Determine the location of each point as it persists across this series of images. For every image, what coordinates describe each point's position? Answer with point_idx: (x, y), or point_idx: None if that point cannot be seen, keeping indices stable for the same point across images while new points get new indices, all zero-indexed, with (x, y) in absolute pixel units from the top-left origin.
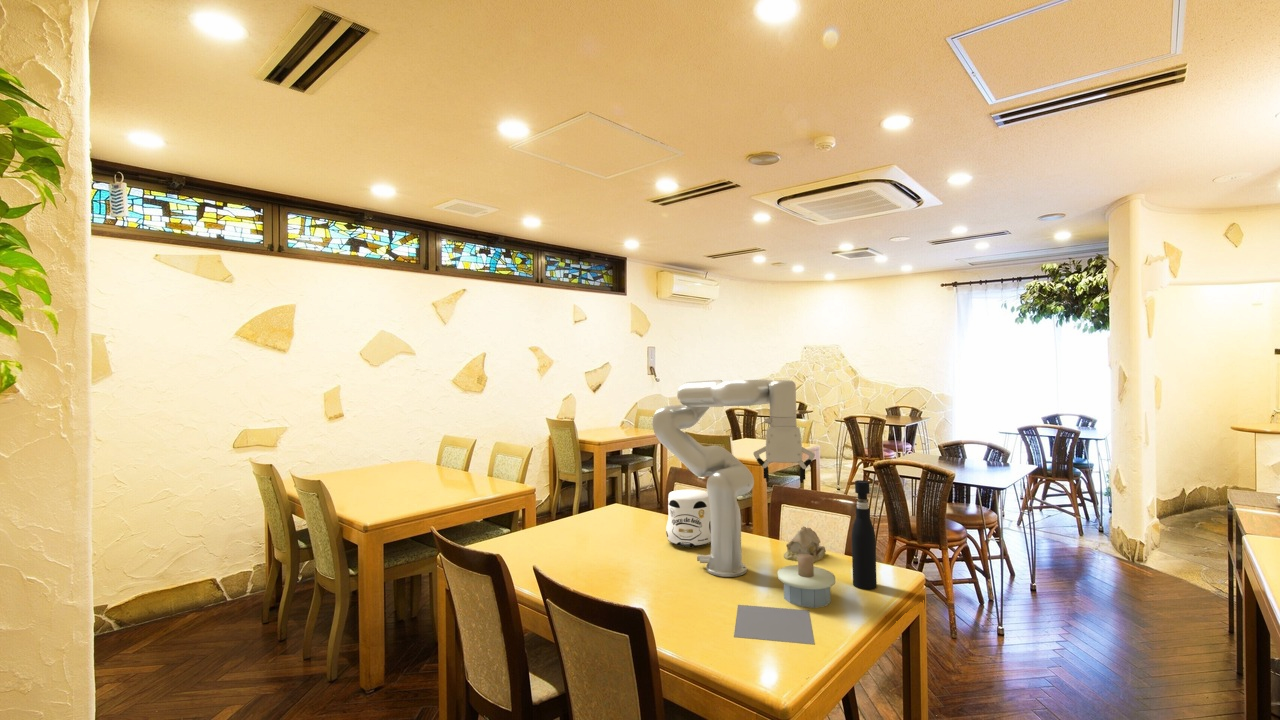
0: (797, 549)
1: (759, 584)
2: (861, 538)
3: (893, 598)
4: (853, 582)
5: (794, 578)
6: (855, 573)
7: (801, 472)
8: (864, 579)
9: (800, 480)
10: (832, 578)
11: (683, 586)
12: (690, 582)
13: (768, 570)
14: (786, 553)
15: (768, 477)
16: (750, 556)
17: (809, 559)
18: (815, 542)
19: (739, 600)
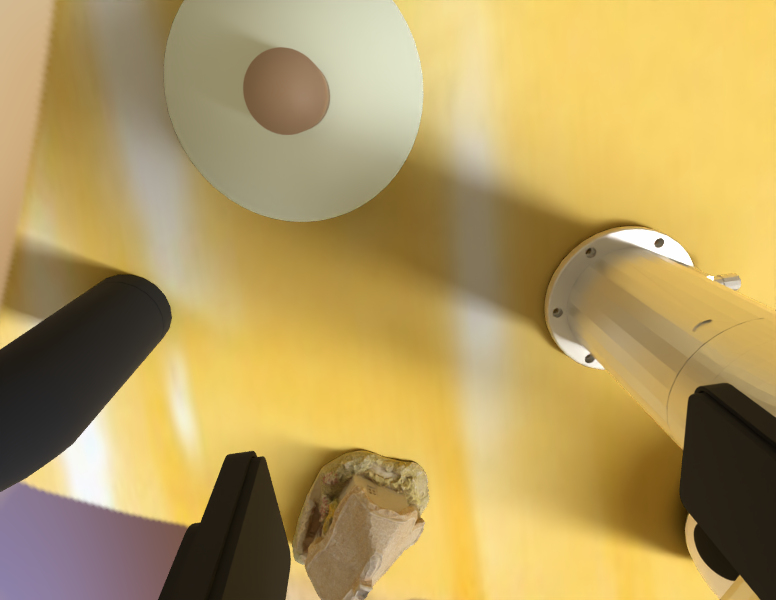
0: (381, 494)
1: (489, 202)
2: (17, 357)
3: (19, 226)
4: (163, 303)
5: (340, 23)
6: (137, 304)
7: (207, 571)
8: (108, 286)
9: (257, 470)
10: (175, 82)
11: (771, 85)
12: (745, 136)
13: (468, 344)
14: (420, 497)
15: (731, 420)
16: (539, 450)
17: (259, 55)
18: (318, 543)
19: (552, 13)
